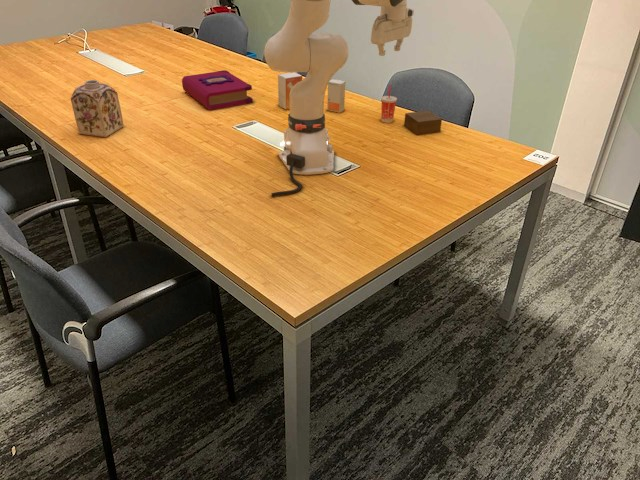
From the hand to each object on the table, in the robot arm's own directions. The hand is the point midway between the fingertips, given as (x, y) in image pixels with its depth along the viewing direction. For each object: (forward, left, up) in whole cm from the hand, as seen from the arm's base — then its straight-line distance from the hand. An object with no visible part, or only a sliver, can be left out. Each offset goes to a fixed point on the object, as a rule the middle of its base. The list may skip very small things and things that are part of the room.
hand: (389, 53), depth 193 cm
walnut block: (-10, -12, -26) cm, 30 cm away
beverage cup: (0, -1, -26) cm, 26 cm away
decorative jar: (+2, +107, -26) cm, 110 cm away
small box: (+21, +35, -26) cm, 48 cm away
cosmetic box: (+14, +17, -26) cm, 34 cm away
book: (+36, +65, -26) cm, 78 cm away
